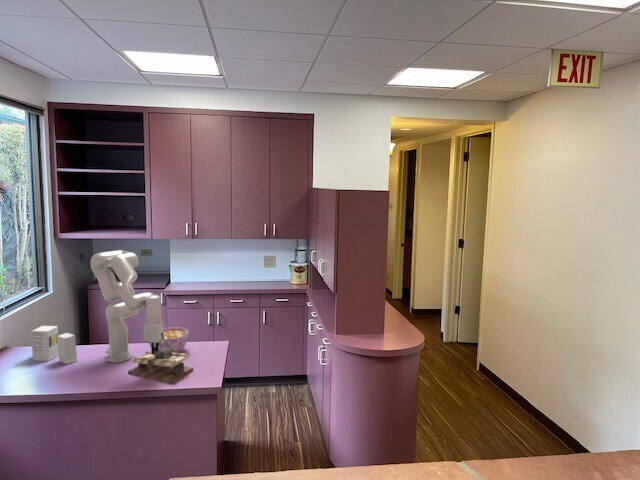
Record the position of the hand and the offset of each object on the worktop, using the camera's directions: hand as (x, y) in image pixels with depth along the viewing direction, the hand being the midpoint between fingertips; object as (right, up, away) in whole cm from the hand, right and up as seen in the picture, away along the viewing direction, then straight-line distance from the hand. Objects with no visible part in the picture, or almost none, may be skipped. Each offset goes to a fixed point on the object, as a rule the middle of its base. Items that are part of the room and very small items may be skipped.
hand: (154, 353), depth 221 cm
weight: (+5, -2, -2) cm, 6 cm away
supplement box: (-66, -7, +15) cm, 68 cm away
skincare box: (-51, -7, +11) cm, 53 cm away
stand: (+3, -10, 0) cm, 10 cm away
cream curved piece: (+3, -3, -1) cm, 4 cm away
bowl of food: (-1, -6, +26) cm, 27 cm away
